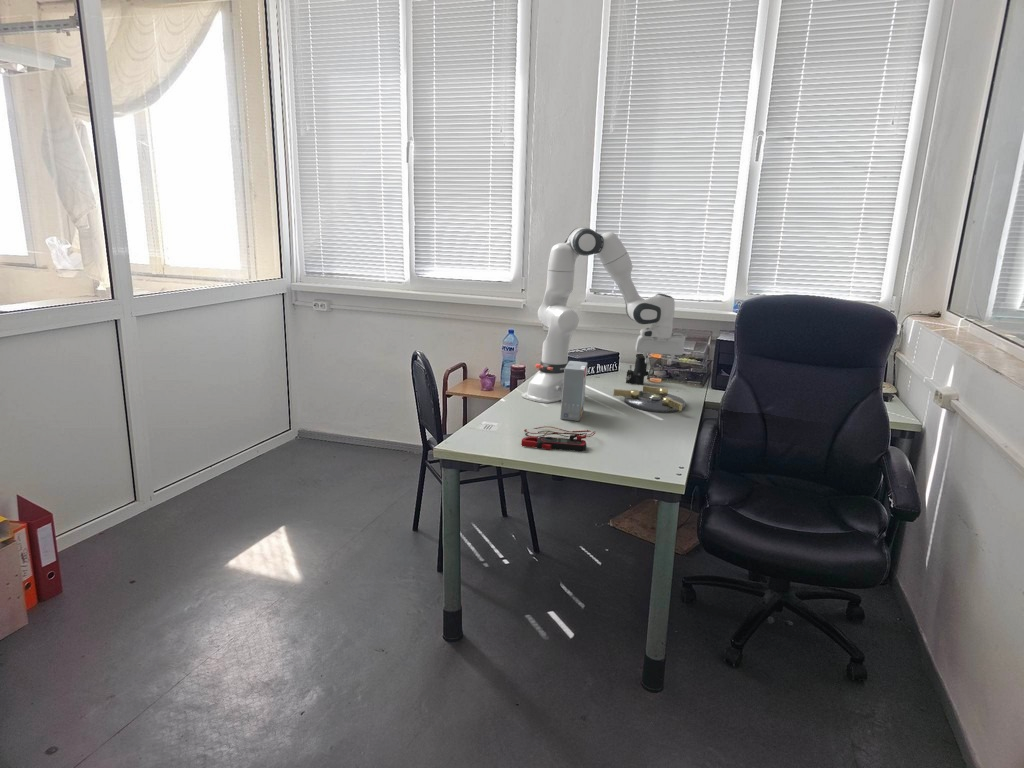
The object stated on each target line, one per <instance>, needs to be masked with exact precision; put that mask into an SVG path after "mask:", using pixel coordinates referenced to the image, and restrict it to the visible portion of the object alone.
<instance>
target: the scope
mask: <svg viewBox="0 0 1024 768" xmlns="http://www.w3.org/2000/svg"><path fill="white" fill-rule="evenodd" d="M648 357H649V355H648V354H647V356H646V358H647V359H649V358H648ZM632 366H633V365H632V364H629V369H627V371H626V377H625V383H626V384H632V385H638V386H639V385H641V386H644V383H645V382H644V381H645V378H646V377H648V376H649V373H650V372H649V371H647V367H648V363H645V357H644V355H643V353H636V355H635V364H634V369H633V370H632Z"/></svg>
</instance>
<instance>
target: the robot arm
mask: <svg viewBox="0 0 1024 768" xmlns="http://www.w3.org/2000/svg"><path fill="white" fill-rule="evenodd" d="M592 255H597V256H598V258H599V259H600V262H601V263H602V265H603V267H604V269H605V271H606V272H607V274H608V276H610V278H611V279H612V280H613V282H615V284H616V286H617V287H618V289H619V291H620V293H621V295H622V297H623V299H624V301H625V302H624V303H625V312H626V315H627V317H628V318H629V320H632V321H634V322H636V323H638V324H640V325H649V324H651V326H649V327H645V328H641V329H640V331H639V334H640V335H638V336H637V339H636V342H635V352H636V353H637V354H643V355H644V357H645V363H647V364H649V363H650V362H649V361H650V358H646V356H647V355H648V354H653V355H654V354H655V355H668V356H670V359H667V361H666V364H667V366H672V361H673V360H674V359H675V356H682V355H683V354H684V353H685V350H684V349H685V346H684V345H685V343H686V336H685V335H684V334H683V333H679V332H678V333H676V332H673V329H674V328H673V326H674V325H673V319H674V317H675V307H676V306H675V305H676V303H675V299H674V297H673V296H671V295H669V294H665V293H656V294H655V295H654V296H652V297H650V298H648V299H644V298H643V297H641V296H640V294H639V293H638V290H637V288H636V286H635V284H634V282H633V280H632V270H633V264H632V260H631V257H630V254H629V253H628V251H627V249H626V247H625V244H624V243H623V242H622V240H621V239H620V238H619V236H618V235H617V234H616V233H614V232H612V231H607V232H603V233H602V234H599V233H598V232H597V231H595V230H593V229H591V228H589V227H586V226H580V227H576V228H574V229H573V230H572V231H571V232H570V233H569V235H568V236H567V238H566V240H565V241H564V242H559V243H556V244H554V245H553V246H551V249H550V253H549V257H548V264H547V272H546V273H547V275H546V277H547V278H546V287H545V292H544V296H543V300H542V302H541V304H540V306H539V308H538V309H537V318H538V320H539V321H540V323H541V324H542V325H543V326H545V327H547V328H548V331H547V335H546V337H545V339H544V341H543V342H542V351H541V360H540V363H536V364H535V369H538V371H537V372H536V373H535V375H534V376H533V377H532V379H531V380H530V381H529V382H528V386H527V391H525V392H523V393H521V397H522V398H524V399H526V400H529V401H532V402H537V403H544V404H547V403H554V402H558V401H562V392H563V380H564V369H565V367H566V365H567V364H568V362H569V360H568V359H569V358H568V357H569V347H570V342H571V338H572V335H573V332H574V331H575V330H576V329H577V328H578V325H579V321H580V319H579V316H578V314H577V312H575V310H573V308H572V307H570V306H567V303H568V299H569V297H570V294H572V293H573V290H574V280H575V264H576V261H577V258H578V257H579V256H587V257H588V256H592Z"/></svg>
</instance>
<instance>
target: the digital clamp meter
mask: <svg viewBox="0 0 1024 768" xmlns="http://www.w3.org/2000/svg"><path fill="white" fill-rule="evenodd" d="M541 428H544V426H540V427H533V428H532V429H533V430H535V429H537V430H538V429H541ZM545 428H549V426H545ZM550 428H552V429H557V430H560V431H563V432H559V431H551V430H541V431H540V430H539V431H537V432H538V433H536V432H529V431H528V430H527V429H524V432H526V433H524V435H525V436H526V437H523V438H522V439H521V443H520V445H522V446H521V447H523V446H526V448H534V447H537V448H539V449H544V450H547V451H549V450H559V449H562V450H561V451H570V450H575V451H574V452H582V451H583V452H585V451H586V450H587V442H586V440H585V439H587V438H591V437H593V436H595V434H596V431H594V430H593V431H592V430H588V429H587V430H573V431H569V430H566V429H562V428H558V427H555V426H550ZM590 432H591V433H590ZM541 433H546V434H543V435H542V434H541ZM587 433H589V434H587ZM529 434H530V435H529ZM538 434H540V435H538ZM534 435H537V436H534ZM549 435H558V436H561V437H552V436H549ZM568 435H569V436H568ZM564 437H565V438H564ZM566 437H567V438H566ZM537 448H536V449H537Z"/></svg>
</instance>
